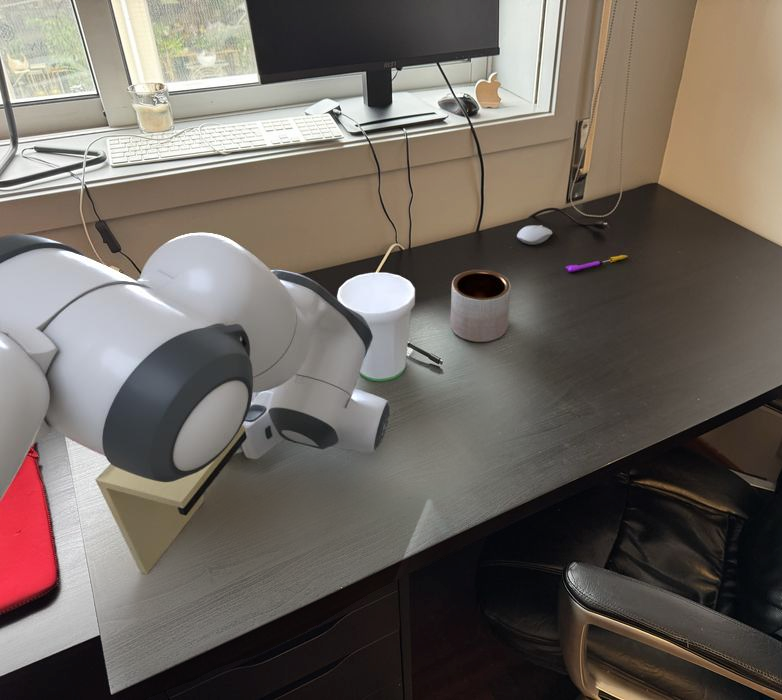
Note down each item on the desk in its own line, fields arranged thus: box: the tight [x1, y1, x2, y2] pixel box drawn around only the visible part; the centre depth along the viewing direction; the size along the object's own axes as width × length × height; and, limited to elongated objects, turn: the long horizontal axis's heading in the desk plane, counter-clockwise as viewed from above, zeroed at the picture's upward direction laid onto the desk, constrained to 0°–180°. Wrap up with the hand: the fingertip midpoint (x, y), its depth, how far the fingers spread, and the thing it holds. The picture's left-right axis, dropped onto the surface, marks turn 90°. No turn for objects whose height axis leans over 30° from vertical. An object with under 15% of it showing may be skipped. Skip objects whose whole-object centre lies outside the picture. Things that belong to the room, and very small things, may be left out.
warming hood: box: [94, 425, 247, 575], centre depth 76 cm, size 10×12×17 cm
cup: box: [336, 272, 416, 382], centre depth 106 cm, size 12×12×15 cm
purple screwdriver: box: [565, 254, 629, 274], centre depth 141 cm, size 3×1×16 cm
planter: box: [450, 269, 511, 343], centre depth 118 cm, size 11×11×10 cm
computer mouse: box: [516, 224, 553, 246], centre depth 150 cm, size 6×10×3 cm, turn 138°
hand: (198, 384), depth 95 cm, fingers closed on beverage can, 6 cm apart
